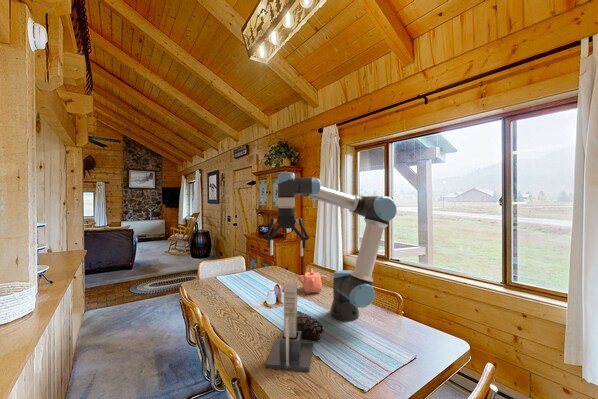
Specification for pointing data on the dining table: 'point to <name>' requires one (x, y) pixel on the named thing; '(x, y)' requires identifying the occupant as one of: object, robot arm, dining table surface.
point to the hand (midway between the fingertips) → (286, 255)
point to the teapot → (312, 282)
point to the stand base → (290, 353)
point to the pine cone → (309, 327)
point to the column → (290, 308)
